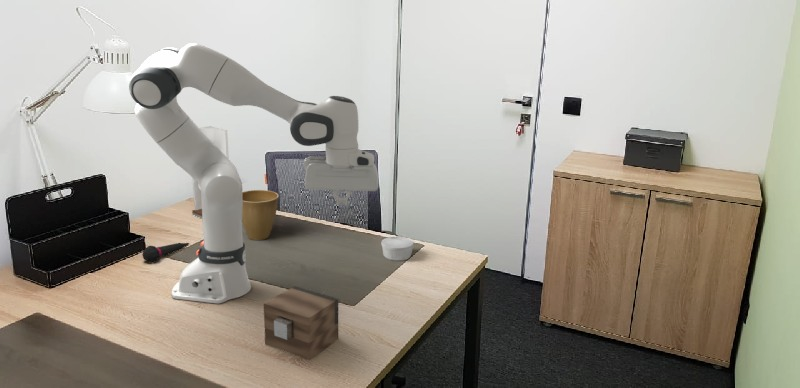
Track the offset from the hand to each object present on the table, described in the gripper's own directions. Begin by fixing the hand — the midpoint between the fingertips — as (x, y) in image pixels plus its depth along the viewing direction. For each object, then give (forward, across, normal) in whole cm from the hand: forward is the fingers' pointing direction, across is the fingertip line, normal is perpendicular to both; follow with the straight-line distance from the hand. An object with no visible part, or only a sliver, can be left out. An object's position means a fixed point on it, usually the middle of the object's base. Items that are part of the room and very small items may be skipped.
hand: (341, 205), depth 172 cm
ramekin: (+29, +16, +35) cm, 49 cm away
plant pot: (+29, -35, +50) cm, 68 cm away
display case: (+29, -59, +73) cm, 98 cm away
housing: (+29, -8, -24) cm, 38 cm away
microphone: (+30, -61, +31) cm, 75 cm away
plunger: (+24, -9, -25) cm, 36 cm away
